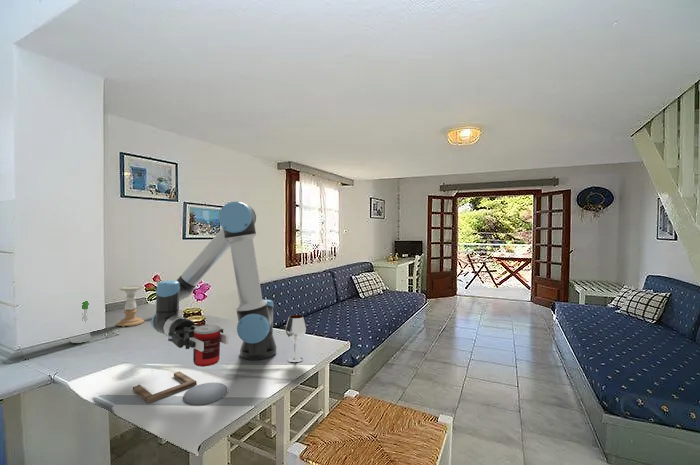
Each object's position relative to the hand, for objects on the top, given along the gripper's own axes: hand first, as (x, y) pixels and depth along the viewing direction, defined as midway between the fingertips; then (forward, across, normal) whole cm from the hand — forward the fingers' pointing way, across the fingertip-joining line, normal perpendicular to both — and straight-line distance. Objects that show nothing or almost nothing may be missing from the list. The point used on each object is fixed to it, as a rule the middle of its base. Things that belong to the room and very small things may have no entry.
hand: (215, 343), depth 101 cm
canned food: (-5, 0, -7) cm, 9 cm away
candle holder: (-107, -14, -18) cm, 109 cm away
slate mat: (-5, 0, -18) cm, 18 cm away
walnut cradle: (-19, +6, -18) cm, 27 cm away
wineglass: (-2, -37, -18) cm, 41 cm away
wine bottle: (-92, +11, -18) cm, 95 cm away
